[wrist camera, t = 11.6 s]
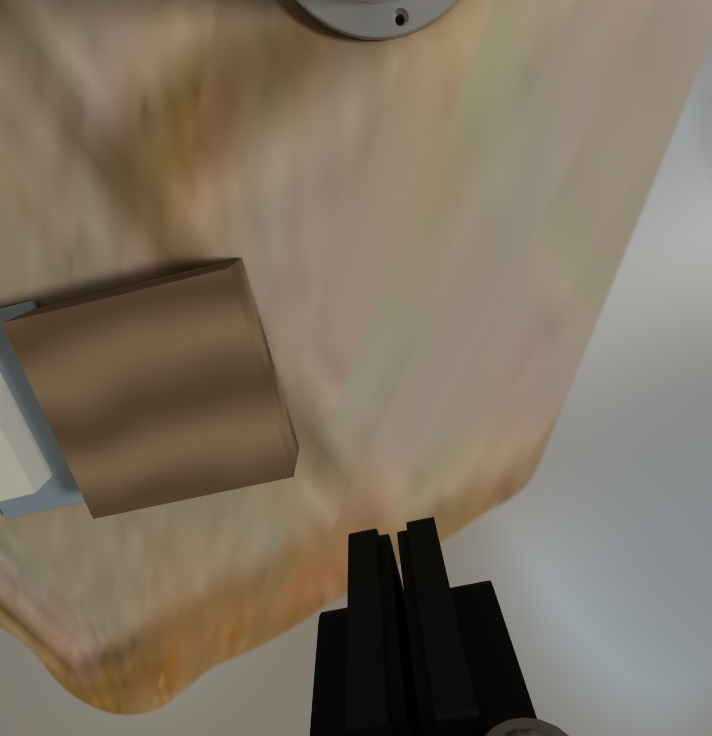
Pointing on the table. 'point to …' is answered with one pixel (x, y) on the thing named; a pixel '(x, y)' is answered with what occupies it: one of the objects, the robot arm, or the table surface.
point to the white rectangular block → (18, 451)
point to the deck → (159, 389)
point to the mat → (34, 432)
